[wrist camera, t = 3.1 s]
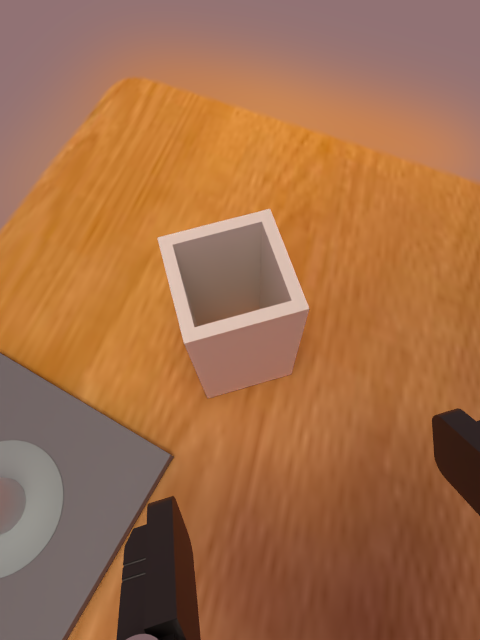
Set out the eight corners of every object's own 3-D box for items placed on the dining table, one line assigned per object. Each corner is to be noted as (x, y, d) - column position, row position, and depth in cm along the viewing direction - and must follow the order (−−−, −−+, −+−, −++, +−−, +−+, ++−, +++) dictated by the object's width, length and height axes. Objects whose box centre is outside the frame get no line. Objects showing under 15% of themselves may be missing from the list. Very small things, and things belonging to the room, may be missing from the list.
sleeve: (187, 321, 30) (157, 237, 20) (265, 300, 30) (270, 208, 21) (207, 398, 27) (184, 343, 18) (291, 374, 28) (309, 308, 19)
